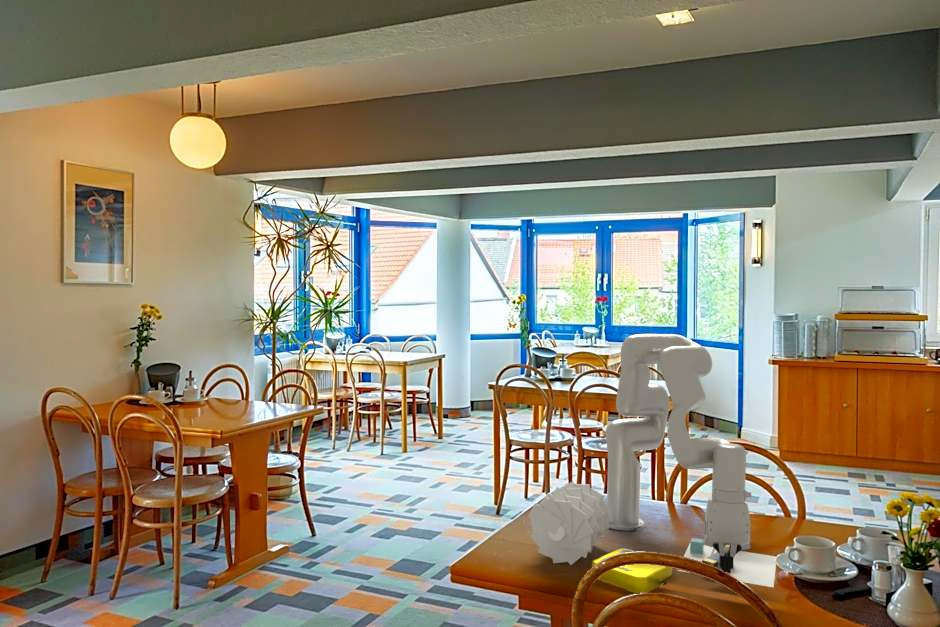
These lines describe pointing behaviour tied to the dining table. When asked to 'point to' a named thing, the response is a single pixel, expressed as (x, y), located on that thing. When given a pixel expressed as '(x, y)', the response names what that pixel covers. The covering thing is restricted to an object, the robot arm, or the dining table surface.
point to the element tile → (635, 574)
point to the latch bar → (713, 560)
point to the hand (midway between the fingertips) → (726, 570)
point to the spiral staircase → (569, 522)
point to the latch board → (739, 563)
